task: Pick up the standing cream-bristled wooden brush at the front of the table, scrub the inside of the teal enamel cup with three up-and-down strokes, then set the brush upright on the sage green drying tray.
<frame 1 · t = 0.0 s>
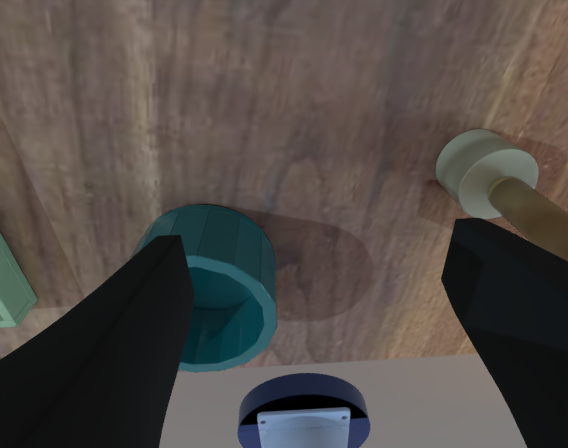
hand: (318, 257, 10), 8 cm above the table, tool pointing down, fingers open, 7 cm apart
brush: (469, 162, 17), on the table
cup: (208, 262, 20), on the table
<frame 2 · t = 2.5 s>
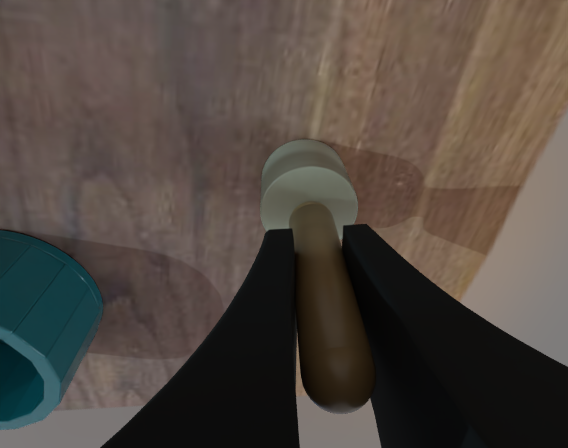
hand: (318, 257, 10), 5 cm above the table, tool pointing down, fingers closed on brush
brush: (303, 179, 14), on the table, touching gripper
cup: (20, 294, 16), on the table
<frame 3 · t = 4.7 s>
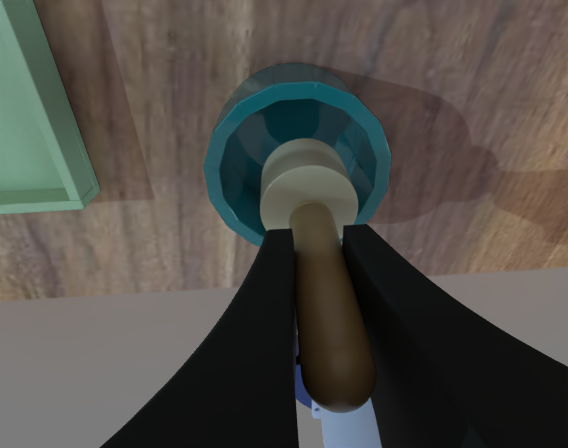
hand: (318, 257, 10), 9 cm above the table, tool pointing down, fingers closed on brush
brush: (303, 178, 14), point 4 cm above the table, touching gripper
cup: (292, 142, 18), on the table
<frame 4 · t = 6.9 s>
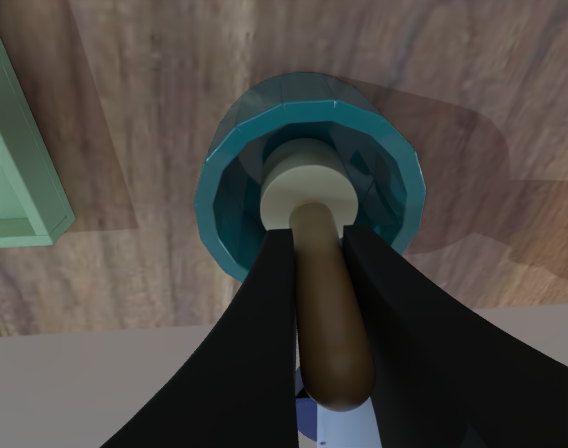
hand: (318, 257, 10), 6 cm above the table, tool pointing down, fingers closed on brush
brush: (303, 178, 14), point 1 cm above the table, touching gripper
cup: (300, 164, 15), on the table
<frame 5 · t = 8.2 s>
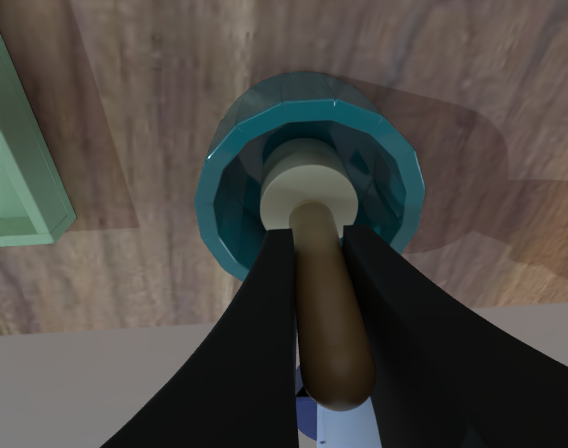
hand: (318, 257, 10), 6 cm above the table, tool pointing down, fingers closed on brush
brush: (303, 177, 14), point 1 cm above the table, touching gripper
cup: (300, 163, 15), on the table
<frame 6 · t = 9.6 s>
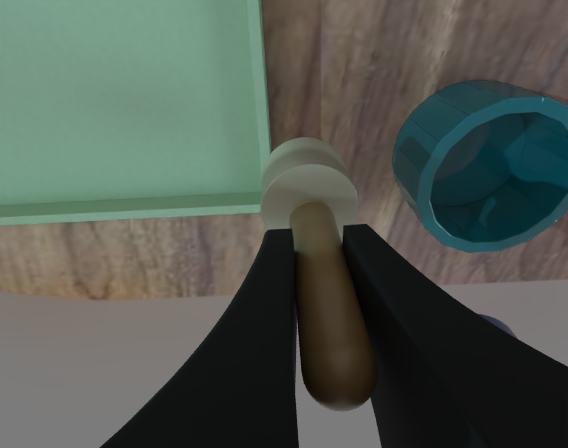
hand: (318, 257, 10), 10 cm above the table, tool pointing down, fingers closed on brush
brush: (303, 177, 14), point 6 cm above the table, touching gripper
cup: (460, 151, 19), on the table
tray: (5, 86, 17), on the table
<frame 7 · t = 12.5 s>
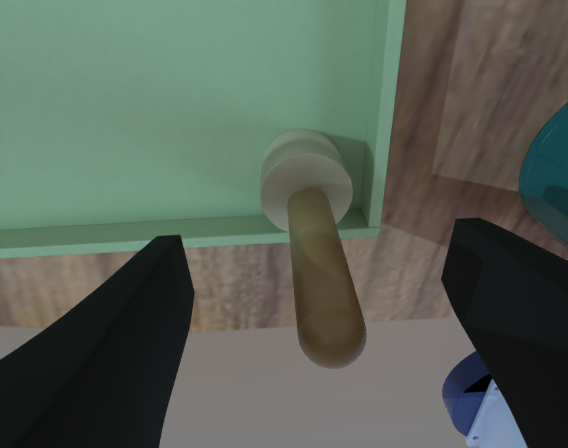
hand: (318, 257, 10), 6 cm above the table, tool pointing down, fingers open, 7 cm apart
brush: (301, 167, 15), resting on tray
tray: (31, 74, 13), on the table
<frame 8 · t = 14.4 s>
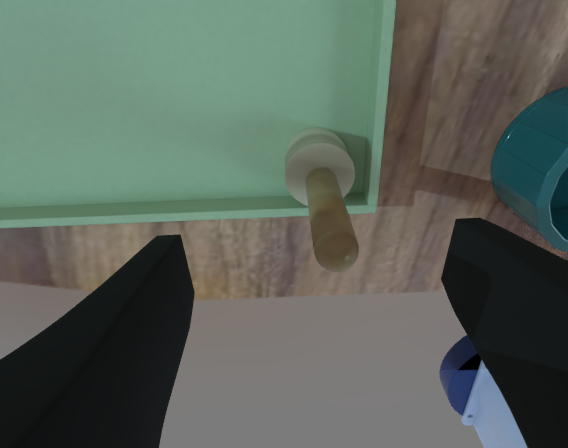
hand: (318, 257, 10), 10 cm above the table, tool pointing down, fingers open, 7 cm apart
brush: (315, 158, 19), resting on tray
cup: (561, 154, 19), on the table
tray: (117, 85, 17), on the table
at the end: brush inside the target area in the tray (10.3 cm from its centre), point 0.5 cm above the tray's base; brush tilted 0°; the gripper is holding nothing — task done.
